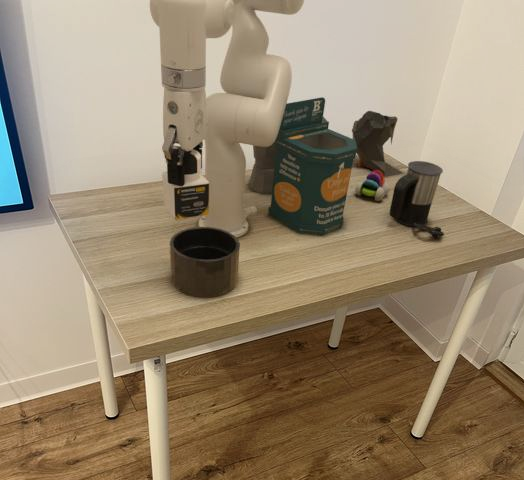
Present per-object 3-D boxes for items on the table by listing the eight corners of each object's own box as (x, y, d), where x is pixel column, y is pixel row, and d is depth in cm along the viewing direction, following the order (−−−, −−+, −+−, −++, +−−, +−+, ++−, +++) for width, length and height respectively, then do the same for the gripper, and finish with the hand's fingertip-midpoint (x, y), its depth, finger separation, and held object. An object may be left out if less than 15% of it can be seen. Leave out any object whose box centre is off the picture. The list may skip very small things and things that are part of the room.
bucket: (209, 256, 124) (209, 220, 118) (251, 283, 116) (253, 247, 110) (158, 276, 116) (156, 239, 110) (199, 306, 108) (199, 268, 102)
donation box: (310, 201, 151) (325, 96, 133) (352, 224, 142) (374, 114, 124) (267, 215, 142) (278, 104, 124) (310, 240, 133) (328, 125, 115)
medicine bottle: (175, 221, 103) (173, 160, 95) (163, 205, 108) (160, 146, 100) (209, 216, 106) (209, 156, 98) (196, 201, 110) (195, 142, 103)
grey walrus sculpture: (371, 156, 183) (382, 101, 171) (402, 172, 173) (416, 115, 162) (339, 162, 176) (349, 104, 165) (369, 179, 167) (382, 120, 155)
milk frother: (402, 208, 152) (415, 157, 142) (454, 226, 146) (472, 174, 136) (380, 225, 143) (393, 172, 133) (436, 245, 136) (454, 191, 127)
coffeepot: (238, 182, 157) (241, 119, 146) (263, 176, 162) (268, 114, 150) (270, 202, 148) (276, 136, 137) (295, 195, 153) (303, 131, 141)
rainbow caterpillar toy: (390, 194, 159) (396, 171, 154) (377, 205, 152) (383, 180, 148) (364, 186, 162) (369, 163, 157) (351, 196, 156) (356, 172, 151)
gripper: (183, 92, 84) (185, 197, 95) (222, 69, 96) (219, 164, 108) (140, 85, 85) (147, 189, 96) (183, 63, 98) (185, 157, 109)
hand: (185, 175), depth 102 cm, fingers closed on medicine bottle, 7 cm apart
